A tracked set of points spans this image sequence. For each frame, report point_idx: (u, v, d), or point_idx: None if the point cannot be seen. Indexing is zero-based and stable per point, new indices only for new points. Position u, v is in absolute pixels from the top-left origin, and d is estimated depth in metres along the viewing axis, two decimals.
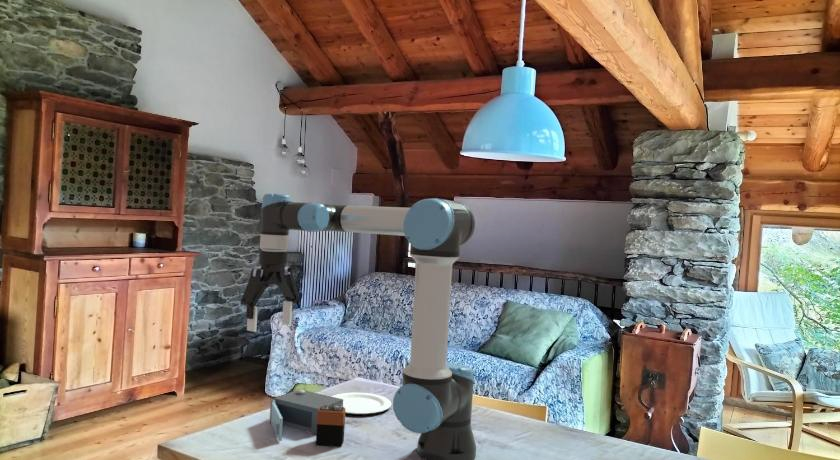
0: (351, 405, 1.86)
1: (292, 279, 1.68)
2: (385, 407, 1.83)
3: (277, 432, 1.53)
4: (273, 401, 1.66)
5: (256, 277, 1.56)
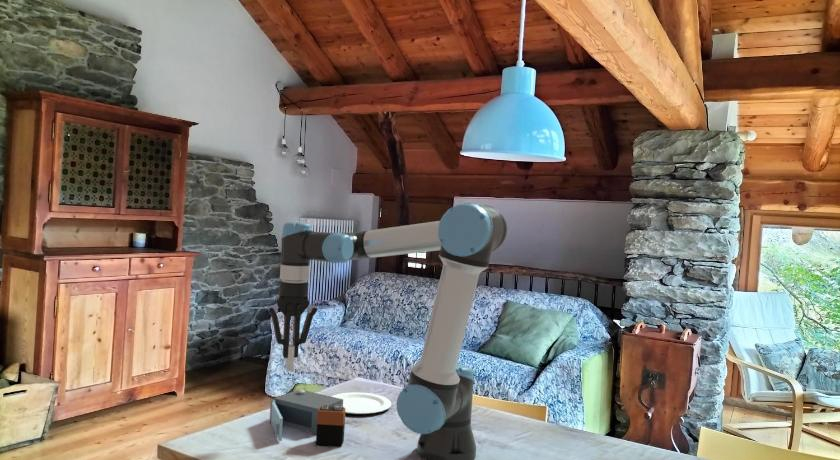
0: (351, 405, 1.86)
1: (309, 320, 1.58)
2: (385, 407, 1.83)
3: (277, 432, 1.53)
4: (273, 401, 1.66)
5: (272, 316, 1.54)
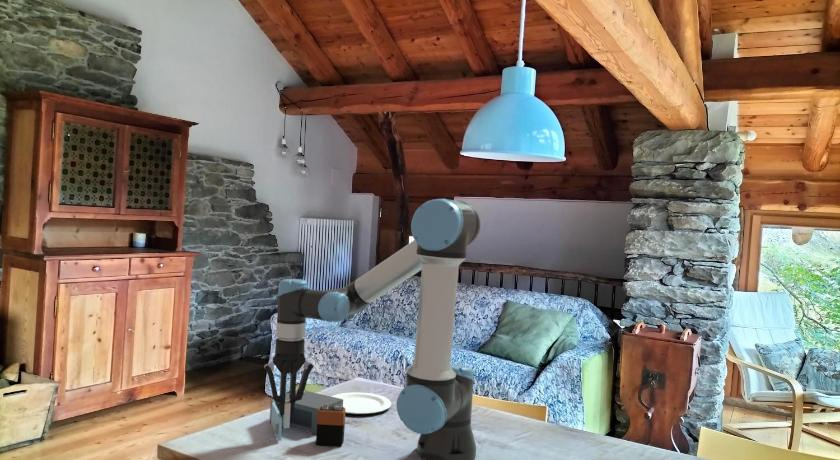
0: (351, 405, 1.86)
1: (305, 376, 1.58)
2: (385, 407, 1.83)
3: (276, 432, 1.53)
4: (273, 401, 1.66)
5: None
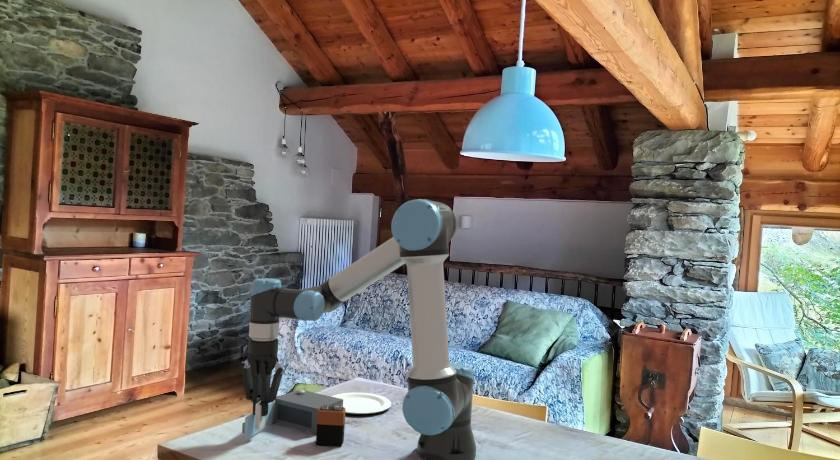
0: (351, 405, 1.86)
1: (274, 380, 1.53)
2: (385, 407, 1.83)
3: (243, 430, 1.53)
4: (272, 401, 1.66)
5: None
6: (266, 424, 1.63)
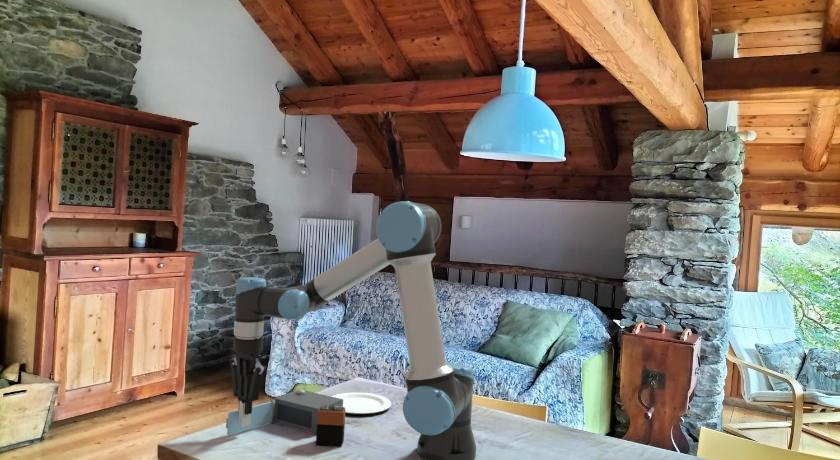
0: (351, 405, 1.86)
1: (253, 379, 1.53)
2: (385, 407, 1.83)
3: (226, 426, 1.56)
4: (271, 401, 1.66)
5: None
6: (261, 423, 1.64)
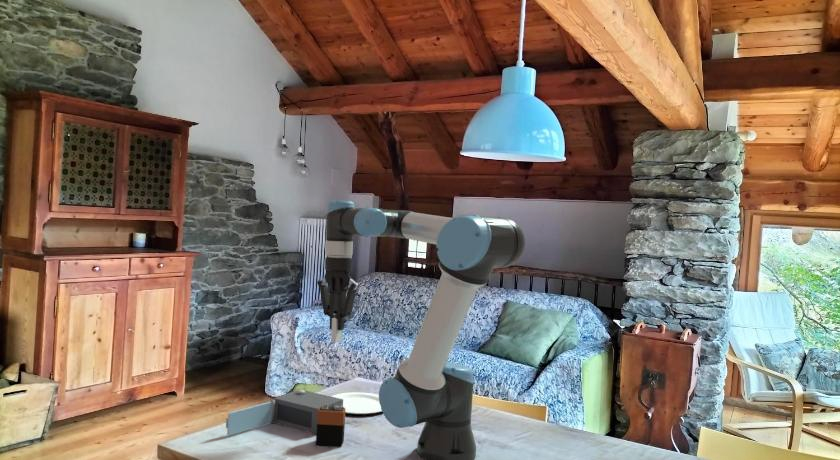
0: (351, 405, 1.86)
1: (348, 295, 1.62)
2: None
3: (226, 426, 1.56)
4: (271, 401, 1.66)
5: None
6: (261, 423, 1.64)
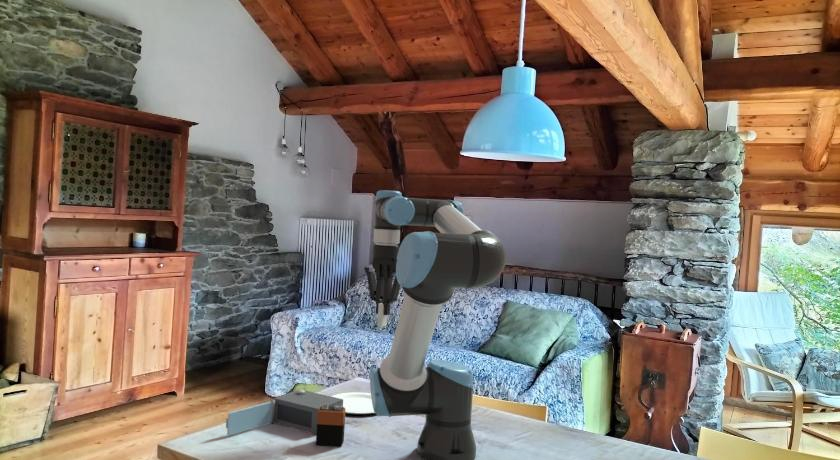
0: (351, 405, 1.86)
1: (395, 281, 1.68)
2: None
3: (226, 426, 1.56)
4: (271, 401, 1.66)
5: None
6: (261, 423, 1.64)
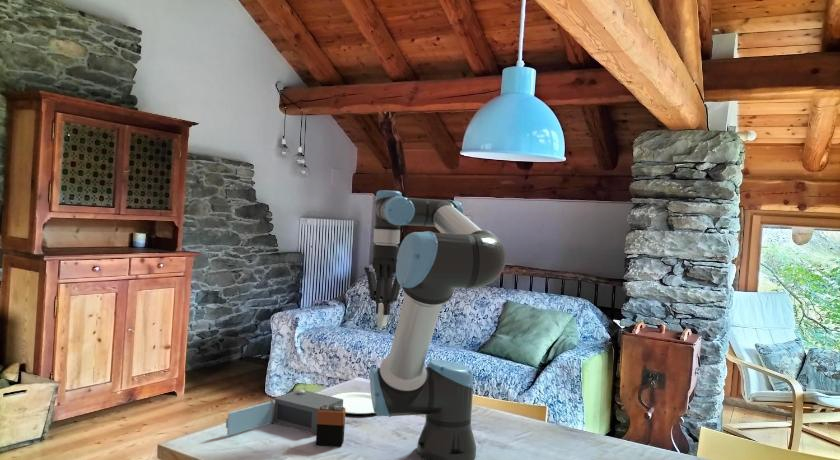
0: (351, 405, 1.86)
1: (395, 281, 1.68)
2: None
3: (226, 426, 1.56)
4: (271, 401, 1.66)
5: None
6: (261, 423, 1.64)
